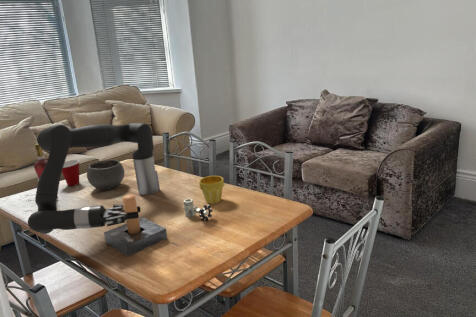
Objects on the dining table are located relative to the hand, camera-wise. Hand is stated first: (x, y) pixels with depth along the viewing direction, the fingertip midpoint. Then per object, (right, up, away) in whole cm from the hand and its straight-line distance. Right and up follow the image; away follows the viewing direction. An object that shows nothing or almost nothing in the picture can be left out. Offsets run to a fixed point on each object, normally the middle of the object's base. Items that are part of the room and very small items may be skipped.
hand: (139, 211), depth 148 cm
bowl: (-30, +4, +61) cm, 68 cm away
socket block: (-2, -11, +3) cm, 11 cm away
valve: (+19, -5, +18) cm, 26 cm away
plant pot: (+25, 0, +33) cm, 41 cm away
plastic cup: (-51, +5, +71) cm, 88 cm away
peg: (-2, -9, +2) cm, 9 cm away
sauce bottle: (-53, -1, +50) cm, 73 cm away
